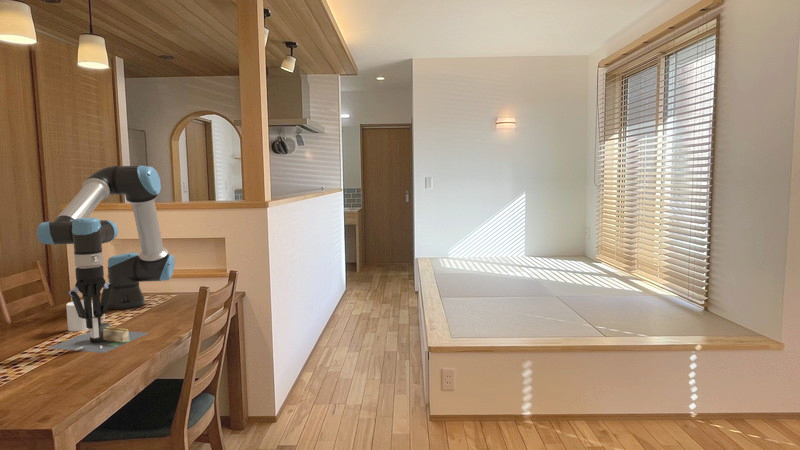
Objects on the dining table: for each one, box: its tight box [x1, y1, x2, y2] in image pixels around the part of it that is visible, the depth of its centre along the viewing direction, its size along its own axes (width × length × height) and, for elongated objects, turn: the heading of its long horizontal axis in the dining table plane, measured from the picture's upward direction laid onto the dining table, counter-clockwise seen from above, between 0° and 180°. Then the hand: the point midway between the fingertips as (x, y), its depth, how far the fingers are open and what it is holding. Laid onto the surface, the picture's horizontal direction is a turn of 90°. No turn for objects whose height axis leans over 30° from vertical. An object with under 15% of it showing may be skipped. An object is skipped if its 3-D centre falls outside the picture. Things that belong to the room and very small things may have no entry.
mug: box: [65, 299, 106, 332], centre depth 175 cm, size 9×12×11 cm
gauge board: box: [47, 330, 149, 354], centre depth 161 cm, size 20×22×1 cm
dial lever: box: [88, 322, 130, 343], centre depth 160 cm, size 15×6×5 cm, turn 74°
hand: (94, 337), depth 154 cm, fingers closed
